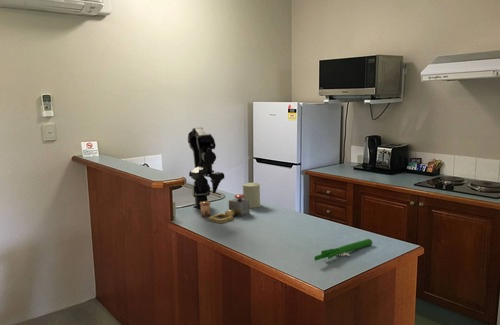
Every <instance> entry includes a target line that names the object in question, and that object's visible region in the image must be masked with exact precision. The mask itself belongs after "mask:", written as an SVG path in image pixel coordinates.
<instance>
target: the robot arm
mask: <svg viewBox="0 0 500 325" xmlns="http://www.w3.org/2000/svg"><path fill="white" fill-rule="evenodd" d="M187 143H188V145H189V148H190V149H191V151H192V153H193V162H194V168H193V169H192V170H190V171H189V172H188V173H189V177H191V179H192V180H194V181H193V185H192V191H191V192H192V194H191V195H192V197H193V198H194V203H195V205H193V206H192V207H193V208H196V209H200V210H201V204H200V202H201V201H209V200H208V196H210V195H211V187H212V193H213V194H216V193H217V190H218V188H219V185H220V183H221V182H222V181H223V180H224V179H225V174H224V172H220V171H217V172H216V171H215V170H213V165H214V163H215V162H216V159H217V155H216V153H215V152H214V151H213V150H215V149H216V147H217V146H216V141H215V138H214V136H213V135H212V134H211V133H206V132H205V131H204V128H203V127H201V126H200V127H192V130H191V131H190V132H188V135H187ZM206 177H207V178H210V180H209V181H210V182H211V186H210V184H209V182H208V179H207V178H206Z"/></svg>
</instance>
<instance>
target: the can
mask: <svg viewBox="0 0 500 325" xmlns="http://www.w3.org/2000/svg"><path fill="white" fill-rule="evenodd" d="M260 186H261V184H260V183H258V182H247V183H243V184H242V195H245V197H244V198H243V199H248V200H249V209H254V208H258V207H261V188H260Z"/></svg>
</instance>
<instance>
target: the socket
mask: <svg viewBox="0 0 500 325" xmlns="http://www.w3.org/2000/svg"><path fill="white" fill-rule="evenodd" d="M232 220H234V216H231V215H227V214H225V213H218V214H215V215H212V216H211V215H210V217H208V221H210V222H215V223H218V224H223V223H226V222H230V221H232Z"/></svg>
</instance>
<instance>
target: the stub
mask: <svg viewBox="0 0 500 325" xmlns="http://www.w3.org/2000/svg"><path fill="white" fill-rule="evenodd" d="M200 204H201V209H200V216H201V217H202V218H209V217H211V204H212V203H211V201H210V200H208V201H201V202H200Z"/></svg>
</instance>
